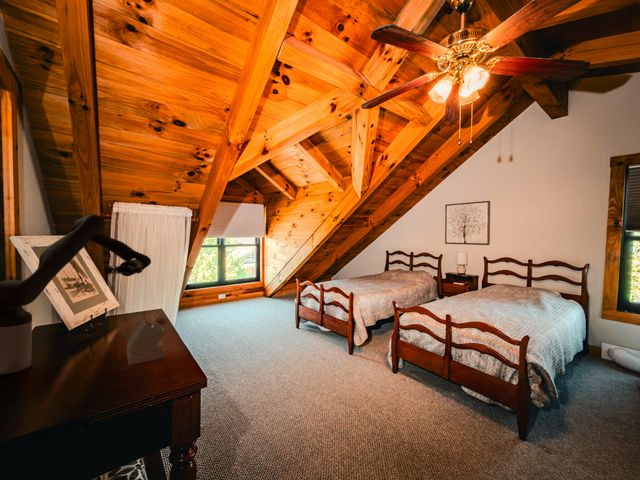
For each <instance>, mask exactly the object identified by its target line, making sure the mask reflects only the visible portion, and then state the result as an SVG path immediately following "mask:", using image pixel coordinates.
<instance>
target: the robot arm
mask: <svg viewBox="0 0 640 480" xmlns="http://www.w3.org/2000/svg"><path fill="white" fill-rule="evenodd" d="M105 227H106V221H105V219H104V218H103V217H102V216H101V215H99V214H89V215H86V216H84V217H82V218H81V217H80V218H78V219H77V220H75V221H74V223H73V229H74V230H73V231H71V232H69V233H68V234H66V235H64V236H63V237H60V238H59V239H58V240H56V241H55V242H53V243H52V244H51V245H49V246H48V247H47V248H46V249H45V250H44V251H43V252H42V253H41V254H40V256H39V259H38V260H39V261H38V265H37V267H36V270H35V271H34V272H33V273H32V274H31V275H30V276H28V277H27V278H25V279H24V280H20V279H19V280H17V279H16V280H15V279H7V280H2V281H0V375H8V374H14V373H18V372H20V371H24V370H26V369H28V368H29V367H31V366H32V348H33V347H32V344H33V343H32V342H33V341H32V340H33V339H32V336H33V334H32V333H33V331H32V330H33V314H32V313H31V312H30V311H27V310H25V309H24V308H23V307H22V306H26V305H27V306H28V305H30V304H31V303H33V302H34V301H35V300H36V299H37V298H38V297H39V296H40V295H41V293H42V292H43V291H44V290H45V289H46V288H47V286H48V285H49V284H50V282H51V281H53V279H54V278H55V277H56V276H57V275H58V274H59V273H60V272H61V270H62V269H64V268H65V267H66V266H67V265H68V264H69V263H70V262H71V261H72V260H73V259H74V258H75V257H76V256H77V255H78V254H79V253H80V251H82V250H83V249H84V247H85V246H86V245H87V244H88V243H89V242H90V241H92V242H94V243H96V244H97V245H99V246H101V247H103V248H105V249H106V250H109V251H110V252H112V253H113V254H114V255H115V256H118V257H119V258H120V259H122V260H123V262H121V263H120V264H119V265H116V266H112V265H111V266H107V267H104V268H103V269H104V274H106V275H107V276H108V275H112V274H113V275H118V274H121V275H122V276H124V277H131V276H133V275H135V274H138V275H139V274H141V273H142V272H143V271H144V270H145V269H146V268H147V267H149V266H150V265H151V264H152V260H151V258H150V257H149V255H148V256H147V255H145V254H144V253H140V252H138V251H136V250H134V248H132V247H130V246H129V245H128V244H126V243H125V242H123V241H120V240H119V239H115V238H113V237H110V236H108V235H105V234H104V233H102V232H103V230H104V229H105Z"/></svg>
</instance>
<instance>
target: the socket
mask: <svg viewBox="0 0 640 480" xmlns="http://www.w3.org/2000/svg"><path fill="white" fill-rule="evenodd" d="M153 323H154V322H150V321H149V320H145V319H141V321H140V323H139V324H138V326H137V327H136V329H135V330H134V332H133V333H132V335H131V336H130V338H129V340H128V341H127V343H126V346H127V348H126V359H127V364H128V366H131V365H132V366H133V365H137V364H141V363H146V362H151V361H156V360H160V359H165V358H166V356H167V354H166V353H167V352H166V351H167V350H166V349H165V344H164V342H163V341H162V338H163V337H164V335H165V333H166V332H165V330H164V327H162V329H161V330H158V329H155V328H153V327H151V326H152V325H153Z"/></svg>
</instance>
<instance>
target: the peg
mask: <svg viewBox="0 0 640 480" xmlns="http://www.w3.org/2000/svg"><path fill="white" fill-rule="evenodd" d="M168 322H169V320H167V318H165V317H164V316H162V315H159V316H158V318H157V319H156V320H155V321H154V322H152V323H153V325H152V326H151V327H153V328H155V329H158V330H161V329H162V328H164V327H165V325H166V324H167V323H168Z"/></svg>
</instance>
